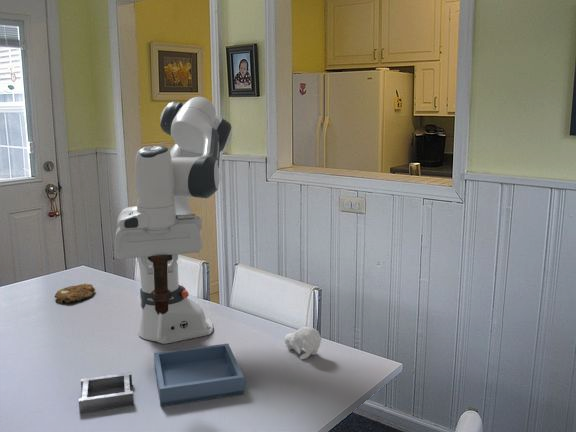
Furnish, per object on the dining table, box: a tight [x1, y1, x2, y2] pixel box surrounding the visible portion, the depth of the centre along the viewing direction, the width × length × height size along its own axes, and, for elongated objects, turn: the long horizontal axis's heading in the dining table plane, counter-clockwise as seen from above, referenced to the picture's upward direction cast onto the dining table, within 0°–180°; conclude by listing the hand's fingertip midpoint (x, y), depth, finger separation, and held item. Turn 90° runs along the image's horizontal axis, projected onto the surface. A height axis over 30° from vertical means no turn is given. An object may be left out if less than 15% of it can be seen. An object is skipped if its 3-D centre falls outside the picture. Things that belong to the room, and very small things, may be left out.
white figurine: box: [284, 326, 322, 360], centre depth 161 cm, size 6×8×12 cm
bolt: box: [148, 255, 172, 314], centre depth 138 cm, size 6×5×15 cm
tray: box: [153, 343, 245, 408], centre depth 146 cm, size 20×20×4 cm
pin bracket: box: [78, 372, 135, 414], centre depth 138 cm, size 12×11×3 cm
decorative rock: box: [54, 283, 96, 304], centre depth 206 cm, size 11×4×15 cm
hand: (160, 272), depth 137 cm, fingers closed on bolt, 4 cm apart
